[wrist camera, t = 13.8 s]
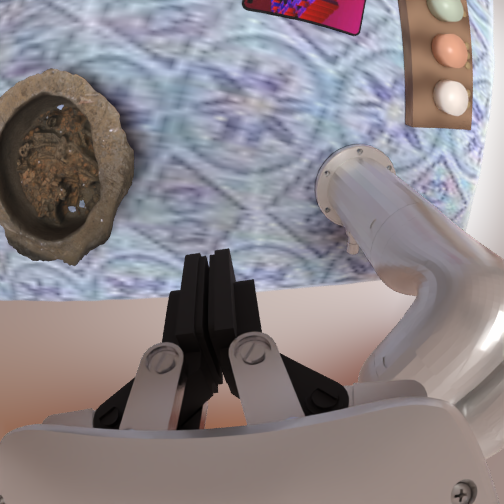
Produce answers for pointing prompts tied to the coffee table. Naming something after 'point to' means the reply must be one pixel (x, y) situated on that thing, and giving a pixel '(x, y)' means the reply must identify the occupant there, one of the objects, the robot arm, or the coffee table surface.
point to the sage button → (446, 10)
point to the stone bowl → (60, 166)
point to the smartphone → (315, 12)
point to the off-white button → (450, 97)
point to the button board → (432, 66)
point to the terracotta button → (449, 50)
